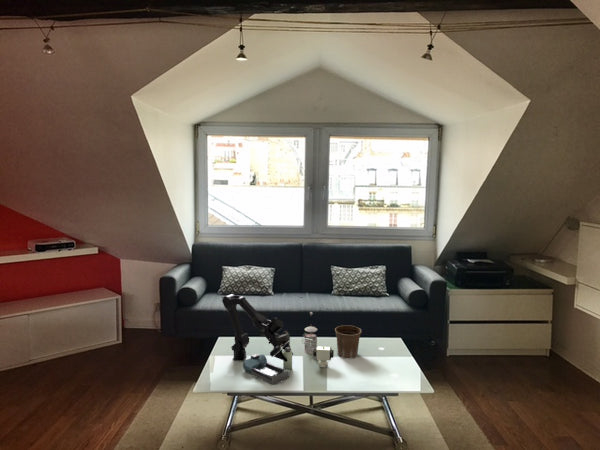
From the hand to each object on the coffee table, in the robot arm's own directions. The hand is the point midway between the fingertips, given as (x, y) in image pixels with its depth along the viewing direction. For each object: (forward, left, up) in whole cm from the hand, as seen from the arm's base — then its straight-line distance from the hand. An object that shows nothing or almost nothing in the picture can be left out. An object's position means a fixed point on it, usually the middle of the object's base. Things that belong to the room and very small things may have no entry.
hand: (289, 358), depth 251 cm
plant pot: (+27, +31, -7) cm, 41 cm away
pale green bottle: (-1, 0, -7) cm, 7 cm away
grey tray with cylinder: (-10, -11, -7) cm, 16 cm away
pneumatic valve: (+17, +11, -7) cm, 21 cm away
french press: (+3, +29, -7) cm, 30 cm away
